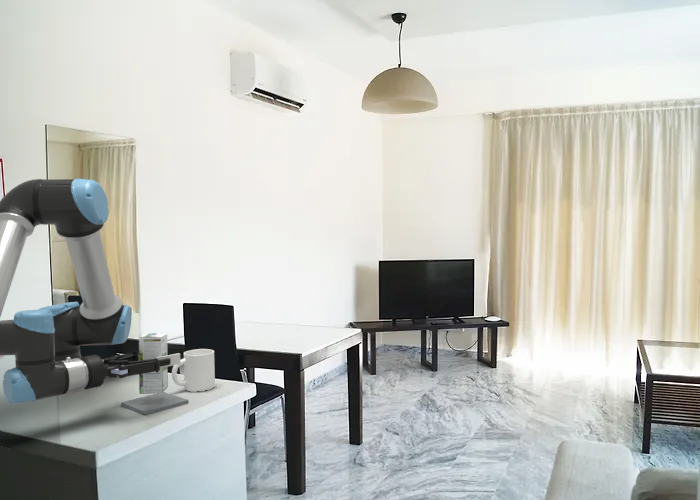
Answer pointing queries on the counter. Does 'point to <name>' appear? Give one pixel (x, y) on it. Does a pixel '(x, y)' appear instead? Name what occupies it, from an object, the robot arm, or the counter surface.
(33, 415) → the counter surface
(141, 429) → the counter surface
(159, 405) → the coaster
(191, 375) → the mug
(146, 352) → the syrup box
